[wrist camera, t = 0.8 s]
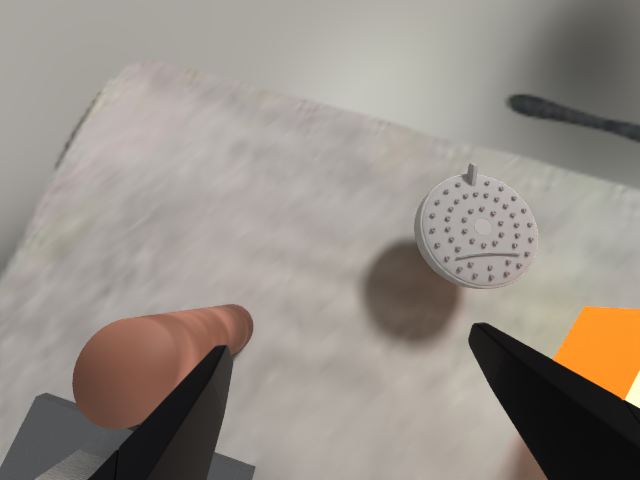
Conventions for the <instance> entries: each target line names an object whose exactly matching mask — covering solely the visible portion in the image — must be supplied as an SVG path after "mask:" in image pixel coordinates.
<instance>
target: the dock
mask: <svg viewBox="0 0 640 480" xmlns="http://www.w3.org/2000/svg"><path fill="white" fill-rule="evenodd" d="M137 427H138V425H135V426H132V427H129V428H124V429H107V428H103V427H100V426H98V425H96V424H94V423H92V422H91V421H89V420H88V419H87V418H86V417H85V416H84V415H83V414H82V412H81V411H80V409H79V408H78V406H77V404H76V403H73V402H71V401H68V400H65V399H62V398H59V397H56V396H54V395H51V394H48V393H45V394H42V395H39V396H36V398H35V400H34V402H33V404H32V406H31V408H30V410H29V412H28V414H27V416H26V418H25V420H24V422H23V424H22V426H21V428H20V430H19V432H18V434H17V436H16V437H15V439H14V441H13V443H12V445H11V447H10V449H9V451H8V453H7V455H6V457H5V459H4V461H3V463H2V465H1V467H0V480H87V479H88V478H89V477H90V476H91V475H92V474H93V473H94V472H95V471H96V470H97V469H98V468H99V467H100V466H101V465H102V464H103V463H104V462H105V461H106V460H107V459H108V458H109V457H110V456H111V455H112V453H113V452H114V451H115V450H118V449H119V446H120V445H121V444H122V443H123V442H124V441H125V440H126V439H127V438H128V437H129V436H130V435H131V434H132V433H133V432H134V430H135V429H136V428H137ZM254 470H255V467H254V466H252V465H249V464H246V463H243V462H240V461H237V460H235V459H232V458H229V457H226V456H223V455H220V454H218V453H215V452H214V455H213V458H212V462H211V466H210V469H209V473H208V477H207V480H252V477H253V474H254Z"/></svg>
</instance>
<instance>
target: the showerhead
mask: <svg viewBox="0 0 640 480" xmlns="http://www.w3.org/2000/svg"><path fill="white" fill-rule="evenodd" d="M477 168H478V166H477V164H474V163H471V164H469V167H468V173H467V174H464V175H458V176H454V177H451V178H449V179H446V180H445V181H443V182H441V183H440V184H438V185H437V186H436V187H435V188H434V189H433V190H432V191H431V192H430V193H429V194H428V195H427V196H426V197H425V198H424V199H423V201H422V202H421V204H420V206H419V208H418V210H417V213H416V217H415V224H414V231H415V238H416V242H417V246H418V248H419V251H420V252H421V254H422V256H423V258H424V259H425V261H426V262H427V263H428V265H429V266H430V267H431V268H432V269H433V270H434V271H435V272H436V273H437V274H439V275H440V276H441V277H443V278H444V279H446V280H448V281H450V282H452V283H454V284H456V285H459V286H463V287H468V288H479V289H492V288H499V287H503V286H506V285H509V284H511V283H513V282H515V281H516V280H518V279H519V278H520V277H522V276H523V275H524V274H525V273H526V272H527V270H528V269H529V268H530V266H531V265H532V263H533V261H534V258H535V256H536V252H537V247H538V231H537V226H536V223H535V219H534V217H533V215H532V213H531V211H530V209H529V207H528V206H527V204H526V203H525V201H524V200H523V199H522V198H521V197H520V196H519V195H518V194H517V193H516V192H515V191H514V190H513V189H511V188H510V187H508V186H507V185H506V184H504V183H502V182H500V181H498V180H496V179H494V178H491V177H487V176H483V175H477Z"/></svg>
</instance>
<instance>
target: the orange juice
mask: <svg viewBox="0 0 640 480" xmlns="http://www.w3.org/2000/svg"><path fill="white" fill-rule="evenodd" d="M553 360H554V361H556V362H558V363H559V364H561V365H563V366H565V367H567V368H568V369H570V370H572V371H574V372H576V373H577V374H579V375H581V376H583V377H585V378H586V379H588V380H590V381H592V382H594V383H595V384H597V385H599V386H601V387H603V388H604V389H606V390H608V391H610V392H612V393H613V394H615V395H617V396H619V397H621V398H622V400H626V401H628V402H630V403H632V404H633V405H635V406H637V407H639V408H640V310H639V309H620V308H600V307H584V309H583V310H582V312H581V314H580V315H579V317H578V319H577V320H576V322H575V324H574V326H573V327H572V329H571V331H570V332H569V334H568V336H567V337H566V339H565V341H564V342H563V344H562V346H561V347H560V349H559V351H558V353H557V354H556V356H555V358H554V359H553Z"/></svg>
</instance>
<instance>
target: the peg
mask: <svg viewBox="0 0 640 480" xmlns="http://www.w3.org/2000/svg"><path fill="white" fill-rule="evenodd" d="M252 333H253V321H252V318H251V315H250V314H249V312H248V311H247V310H246V309H245V308H243V307H241V306H239V305H234V304H230V305H222V306H215V307H208V308H200V309H193V310H186V311H178V312H171V313H164V314H157V315H149V316H142V317H135V318H127V319H122V320H118V321H115V322H113V323H111V324H109V325H107V326H105V327H104V328H102V329H101V330H99V331H98V332H97V333H96V334H95V335H94V336H92V338H91V339H90V340H89V341H88V342H87V343H86V345H85V346H84V348H83V349H82V351H81V353H80V355H79V357H78V359H77V362H76V365H75V368H74V373H73V383H72V384H73V393H74V398H75V401H76V404H77V406H78V408H79V409H80V411H81V412H82V414H83V415H84V416H85V417H86V418H87V419H88V420H89V421H91V422H92V423H94V424H96V425H98V426H100V427H103V428H107V429H124V428H129V427H132V426H135V425H137V424H139V423H142V422H143V421H144V420H145V419H146V418H147V417H148V416H149V415H150V414H151V413H152V412H153V411H154V409H155V408H156V407H157V406H158V405H159V404H160V403H161V402H162V401H163V400H164V399H165V398H166V397H167V396H168V395H169V394H170V393H171V392H172V391H173V390H174V388H175V387H176V386H177V385H178V384H179V383H180V382H181V381H182V380H183V379H184V378H185V377H186V376H187V375H188V374H189V373H190V372H191V371H192V370H193V369H194V367H195V366H196V365H197V364H198V363H199V362H200V361H201V360H202V359H203V358H204V357H205V356H206V355H207V354H208V353H209V352H210V351H211V350H212V349H213V348H214V347H215V346H216V345H225V344H226V345H228V347H229V349H230V353H231V356H232V355H234V354H235V353H236V352H238V351H239V350H240V349H242V348H243V347H244V346H245V345H246V344H247V343H248V342H249V340H250V338H251V336H252Z"/></svg>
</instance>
